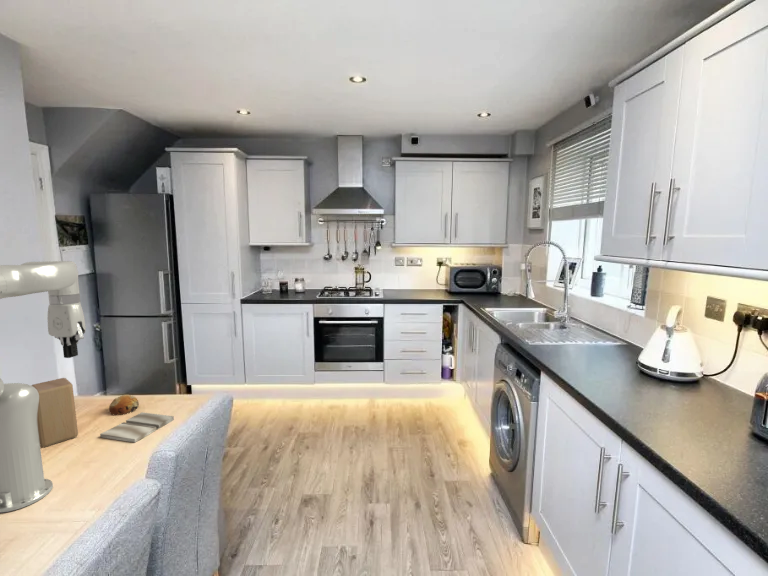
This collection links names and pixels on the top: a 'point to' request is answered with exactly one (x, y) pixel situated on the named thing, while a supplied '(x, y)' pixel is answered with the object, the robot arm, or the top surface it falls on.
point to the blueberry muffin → (123, 405)
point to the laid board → (151, 419)
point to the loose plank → (128, 432)
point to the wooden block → (56, 412)
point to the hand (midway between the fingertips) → (71, 356)
